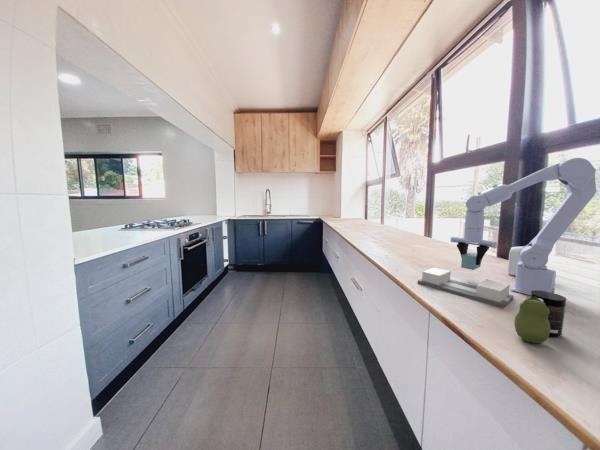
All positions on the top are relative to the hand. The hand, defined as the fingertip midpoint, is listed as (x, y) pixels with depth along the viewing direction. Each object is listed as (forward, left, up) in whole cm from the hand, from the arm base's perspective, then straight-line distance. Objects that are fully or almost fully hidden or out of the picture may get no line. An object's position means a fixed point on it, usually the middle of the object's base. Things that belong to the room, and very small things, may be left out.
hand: (471, 263), depth 90 cm
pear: (-23, +34, -7) cm, 42 cm away
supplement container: (-24, +26, -7) cm, 36 cm away
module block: (0, 0, -2) cm, 2 cm away
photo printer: (-11, -24, -7) cm, 27 cm away
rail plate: (-2, +13, -7) cm, 15 cm away
